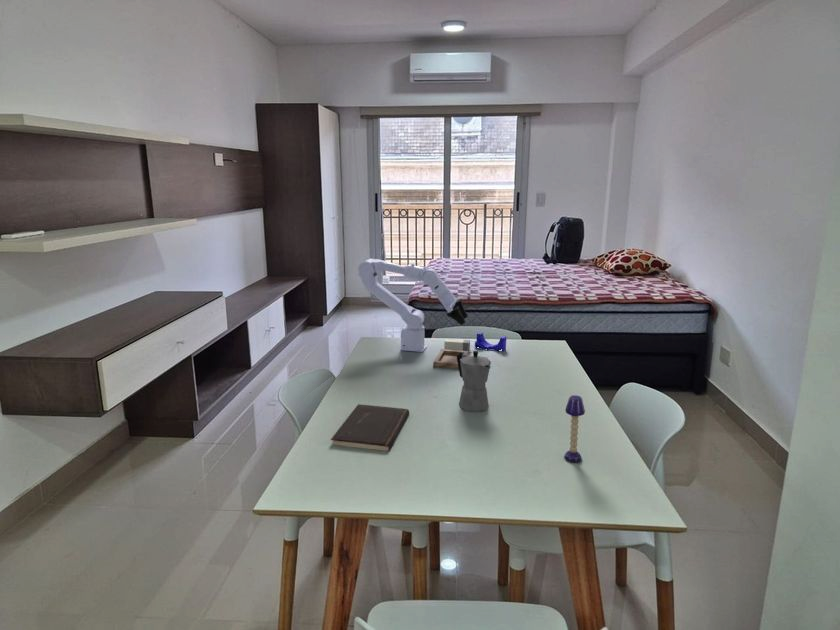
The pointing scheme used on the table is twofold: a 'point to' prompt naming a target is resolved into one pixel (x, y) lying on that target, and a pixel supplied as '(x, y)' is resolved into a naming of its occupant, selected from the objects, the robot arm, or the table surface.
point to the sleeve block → (457, 344)
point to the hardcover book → (371, 427)
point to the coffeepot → (473, 381)
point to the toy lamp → (574, 426)
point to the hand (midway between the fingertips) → (464, 320)
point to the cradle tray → (447, 359)
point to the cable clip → (485, 345)
